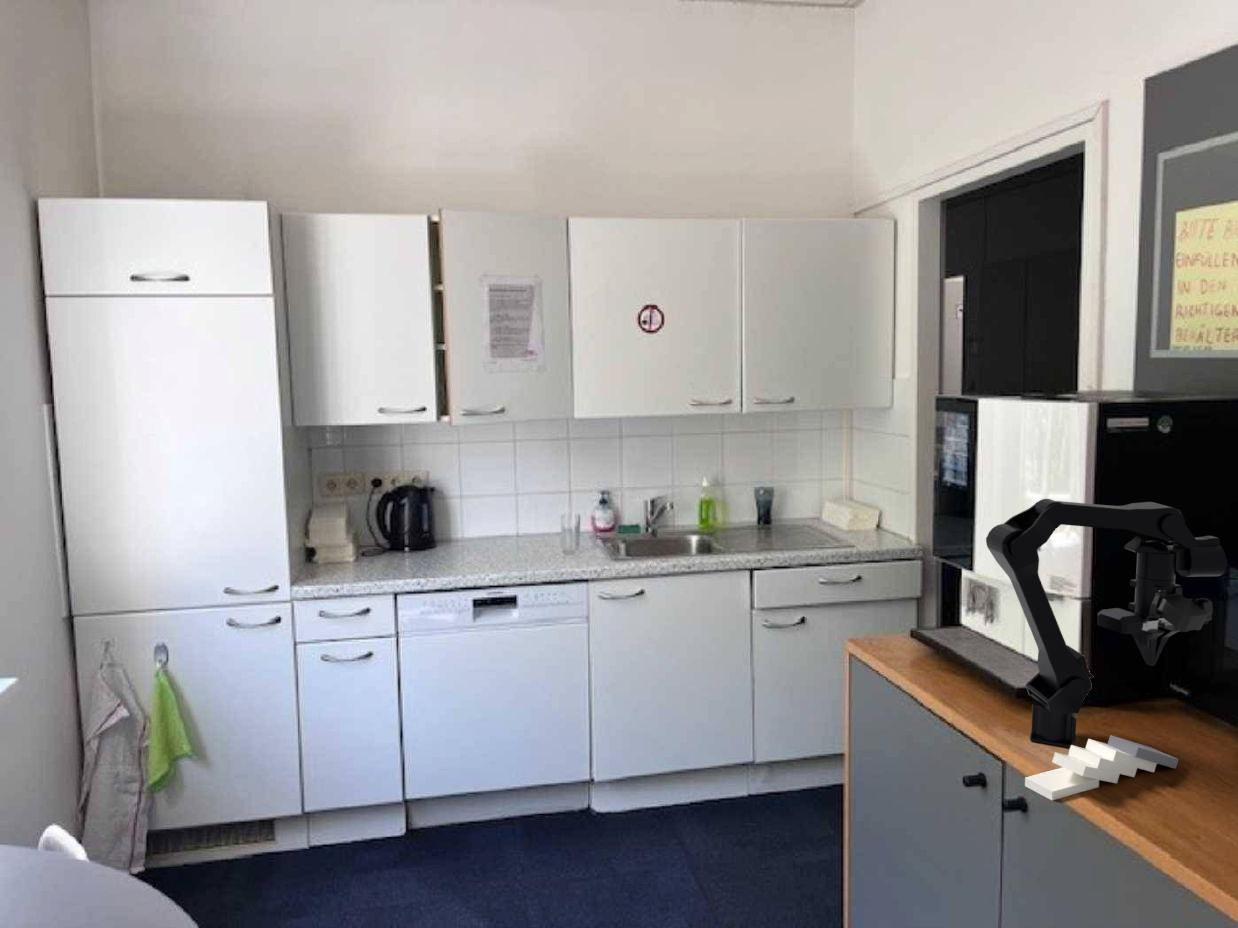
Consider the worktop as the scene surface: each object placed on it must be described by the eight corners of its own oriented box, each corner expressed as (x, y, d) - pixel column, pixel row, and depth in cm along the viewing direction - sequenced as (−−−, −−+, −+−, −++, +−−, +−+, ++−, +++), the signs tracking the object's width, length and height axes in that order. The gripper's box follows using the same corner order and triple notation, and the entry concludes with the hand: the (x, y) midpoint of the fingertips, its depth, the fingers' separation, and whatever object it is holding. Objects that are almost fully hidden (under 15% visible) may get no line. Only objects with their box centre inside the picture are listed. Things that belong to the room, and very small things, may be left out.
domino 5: (1175, 768, 141) (1135, 756, 138) (1146, 756, 146) (1107, 744, 142) (1178, 759, 141) (1138, 747, 138) (1149, 746, 146) (1110, 734, 142)
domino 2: (1116, 783, 137) (1082, 776, 132) (1086, 769, 141) (1052, 761, 136) (1119, 773, 137) (1085, 765, 132) (1089, 759, 141) (1055, 752, 136)
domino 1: (1098, 788, 136) (1051, 801, 132) (1070, 774, 141) (1024, 787, 137) (1099, 778, 136) (1052, 791, 132) (1071, 764, 141) (1025, 777, 137)
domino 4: (1153, 772, 140) (1113, 760, 136) (1125, 759, 145) (1085, 747, 141) (1157, 762, 140) (1116, 750, 137) (1128, 750, 145) (1088, 738, 141)
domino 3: (1134, 777, 139) (1097, 767, 134) (1104, 763, 143) (1068, 754, 139) (1137, 767, 139) (1100, 757, 134) (1107, 754, 143) (1071, 744, 139)
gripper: (1152, 593, 140) (1147, 687, 142) (1242, 583, 145) (1235, 674, 147) (1096, 577, 150) (1092, 665, 152) (1182, 568, 156) (1176, 653, 157)
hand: (1150, 664), depth 152 cm, fingers closed
